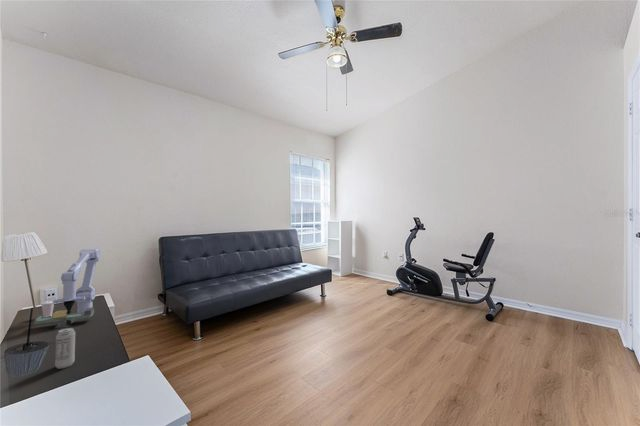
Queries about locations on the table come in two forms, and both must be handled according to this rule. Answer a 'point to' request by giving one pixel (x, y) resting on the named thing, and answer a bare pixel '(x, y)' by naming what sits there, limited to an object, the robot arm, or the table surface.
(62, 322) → the pivot stand
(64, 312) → the block
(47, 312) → the smoothie
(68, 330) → the energy drink can
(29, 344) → the table surface
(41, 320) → the beam
